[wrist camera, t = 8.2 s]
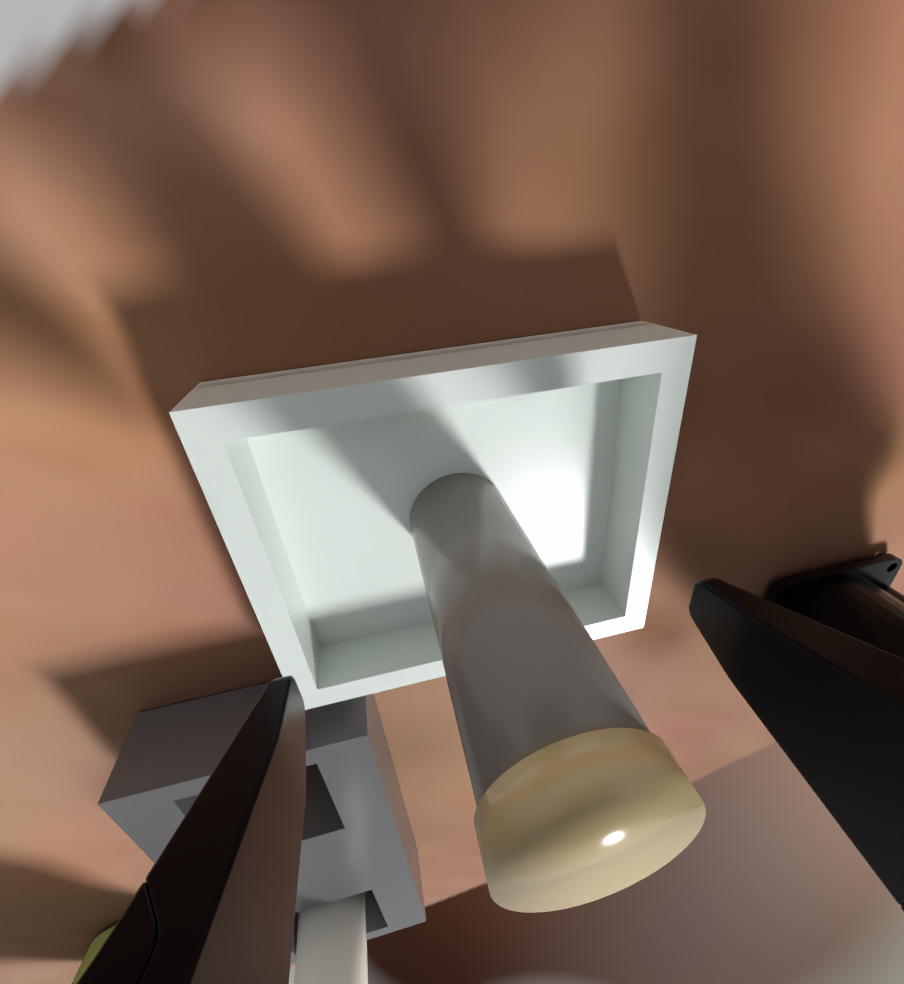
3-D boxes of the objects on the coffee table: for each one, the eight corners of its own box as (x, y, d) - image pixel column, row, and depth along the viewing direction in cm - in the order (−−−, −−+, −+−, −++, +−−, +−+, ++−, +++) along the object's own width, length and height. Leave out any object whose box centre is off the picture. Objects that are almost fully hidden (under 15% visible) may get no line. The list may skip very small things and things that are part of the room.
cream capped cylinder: (505, 461, 13) (727, 760, 6) (508, 546, 15) (684, 871, 7) (398, 480, 13) (482, 834, 5) (413, 566, 14) (494, 933, 7)
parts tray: (642, 320, 13) (697, 334, 11) (610, 585, 18) (643, 627, 16) (199, 381, 11) (169, 412, 9) (303, 654, 16) (297, 711, 14)
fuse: (358, 823, 22) (366, 1128, 15) (370, 852, 24) (383, 1141, 16) (293, 841, 22) (266, 1166, 14) (309, 870, 23) (293, 1175, 16)
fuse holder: (363, 660, 17) (367, 735, 14) (417, 851, 25) (426, 921, 22) (137, 713, 16) (97, 804, 13) (270, 895, 24) (261, 973, 21)
